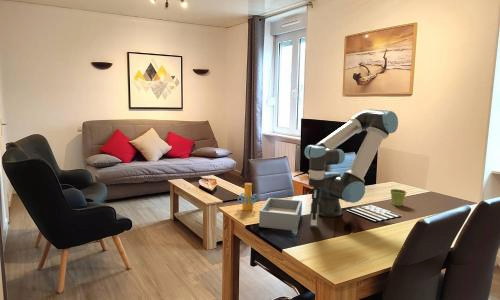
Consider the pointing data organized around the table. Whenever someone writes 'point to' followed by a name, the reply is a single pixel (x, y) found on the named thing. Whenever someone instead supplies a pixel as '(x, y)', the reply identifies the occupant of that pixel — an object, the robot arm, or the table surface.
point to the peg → (317, 216)
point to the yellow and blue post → (248, 198)
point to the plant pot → (397, 196)
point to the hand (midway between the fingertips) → (313, 223)
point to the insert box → (280, 214)
